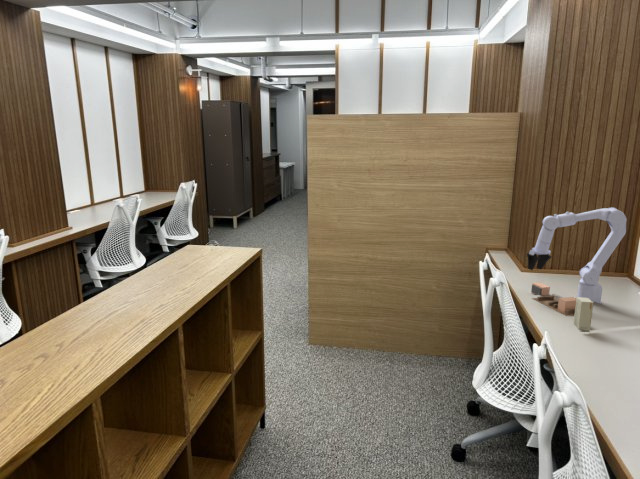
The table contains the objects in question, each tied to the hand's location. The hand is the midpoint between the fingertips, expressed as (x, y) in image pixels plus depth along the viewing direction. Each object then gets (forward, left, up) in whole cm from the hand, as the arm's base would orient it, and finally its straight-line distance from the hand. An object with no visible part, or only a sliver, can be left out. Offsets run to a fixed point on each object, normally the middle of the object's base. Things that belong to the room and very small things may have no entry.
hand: (534, 268), depth 220 cm
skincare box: (+7, +38, -14) cm, 41 cm away
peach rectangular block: (-5, -1, -14) cm, 15 cm away
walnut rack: (-2, +16, -13) cm, 21 cm away
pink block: (-1, +22, -12) cm, 25 cm away
